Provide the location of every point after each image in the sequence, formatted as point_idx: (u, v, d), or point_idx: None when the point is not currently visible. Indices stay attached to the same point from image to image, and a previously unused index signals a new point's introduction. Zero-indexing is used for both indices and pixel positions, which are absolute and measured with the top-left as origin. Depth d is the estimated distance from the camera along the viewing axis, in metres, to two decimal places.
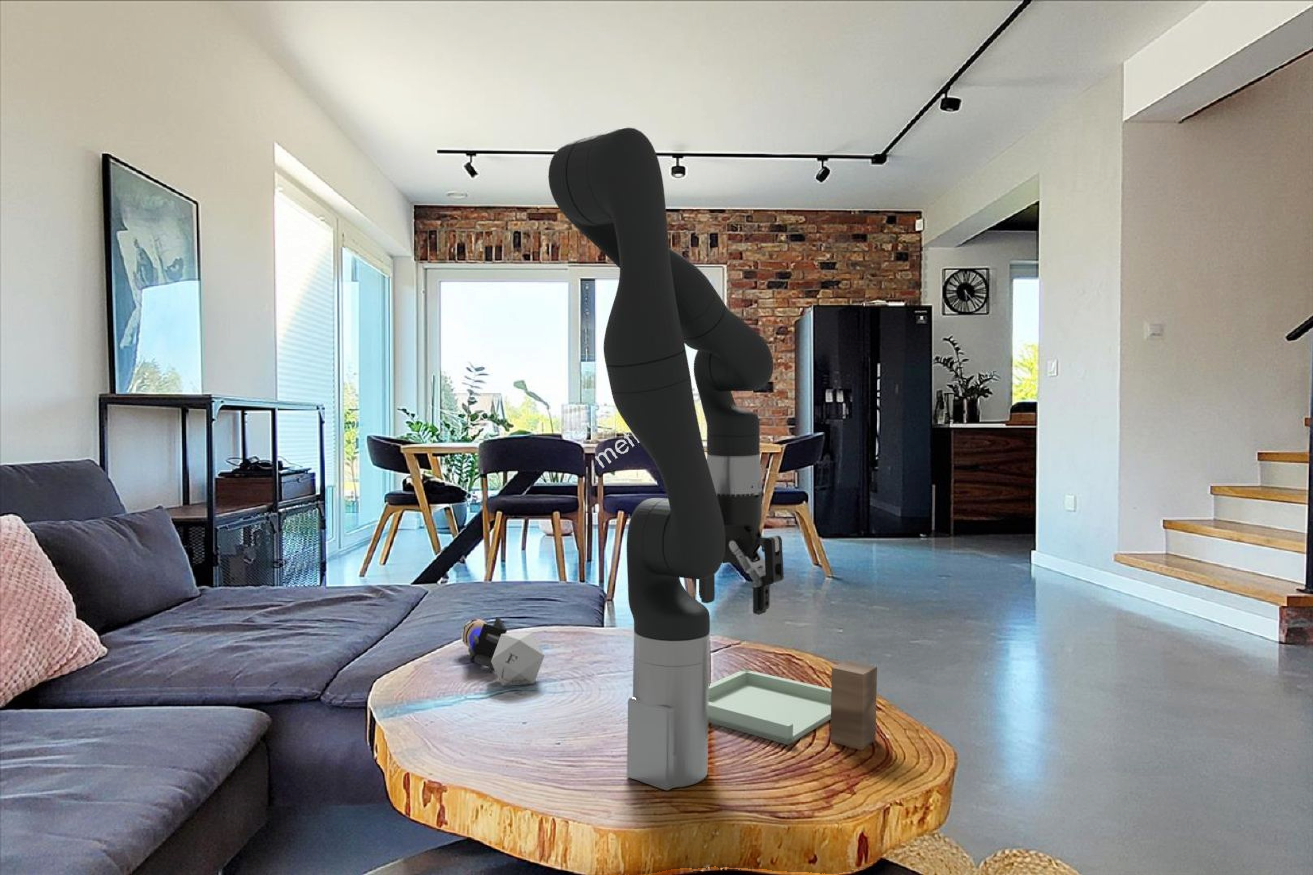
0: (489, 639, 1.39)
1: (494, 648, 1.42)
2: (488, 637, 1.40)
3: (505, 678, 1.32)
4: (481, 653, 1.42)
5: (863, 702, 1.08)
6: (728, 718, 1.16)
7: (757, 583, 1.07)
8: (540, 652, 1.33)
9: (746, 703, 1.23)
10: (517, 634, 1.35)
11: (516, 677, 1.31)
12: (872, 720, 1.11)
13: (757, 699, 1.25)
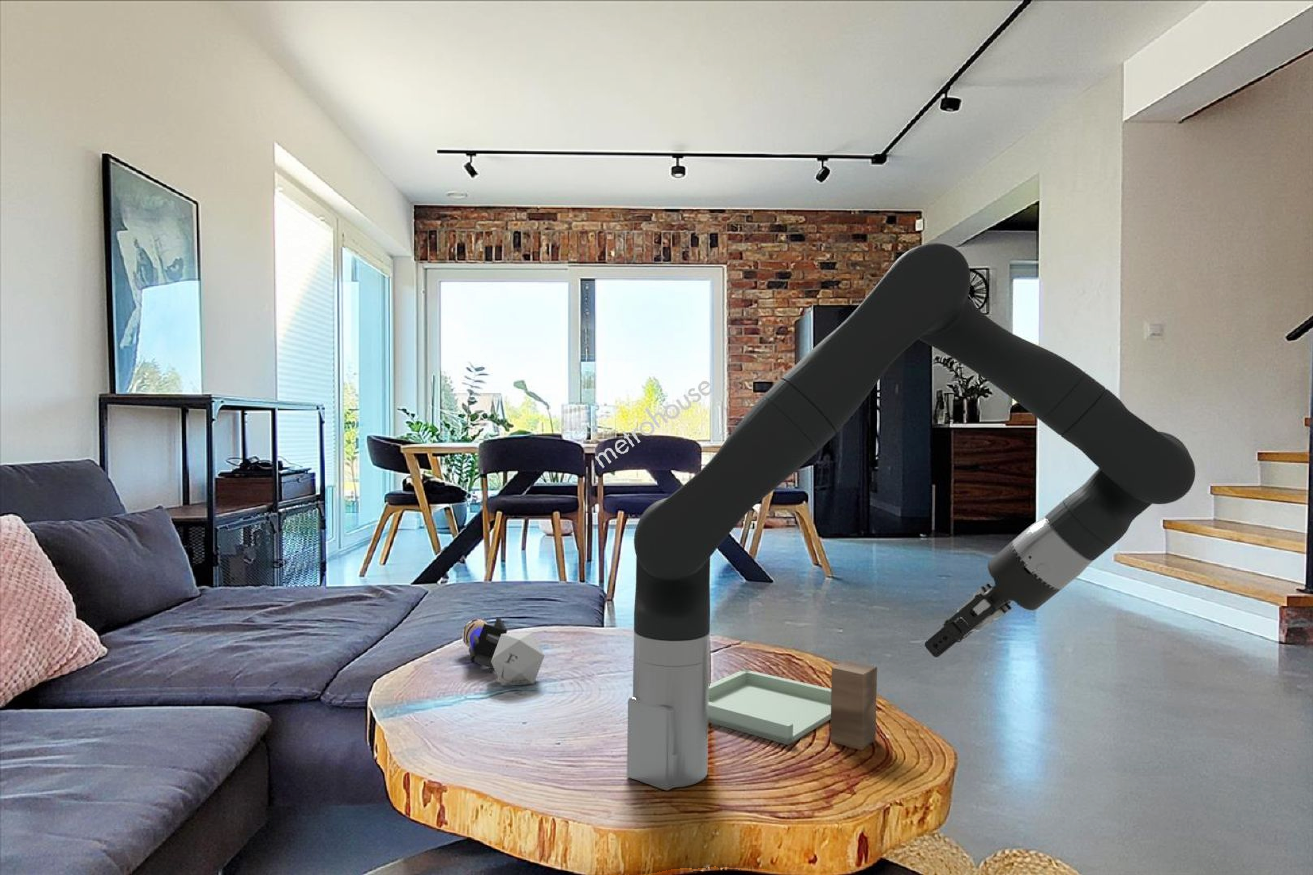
0: (489, 639, 1.39)
1: (494, 648, 1.42)
2: (488, 637, 1.39)
3: (505, 678, 1.32)
4: (481, 653, 1.42)
5: (863, 702, 1.08)
6: (728, 718, 1.16)
7: None
8: (540, 652, 1.33)
9: (746, 703, 1.23)
10: (517, 634, 1.35)
11: (516, 677, 1.31)
12: (872, 720, 1.11)
13: (757, 699, 1.25)
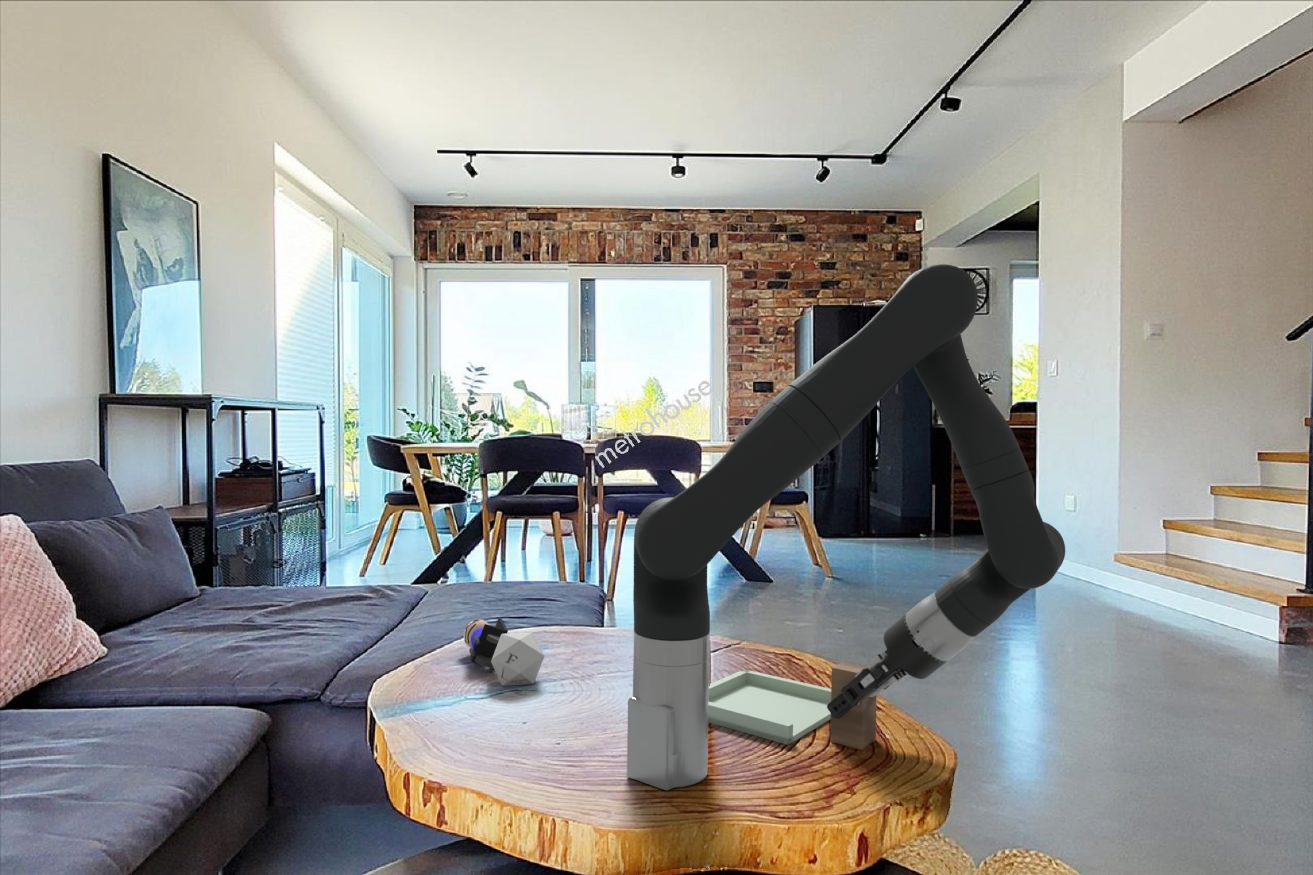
0: (490, 640, 1.39)
1: (495, 649, 1.42)
2: (489, 638, 1.39)
3: (505, 678, 1.32)
4: (482, 654, 1.41)
5: (863, 702, 1.08)
6: (728, 718, 1.16)
7: None
8: (540, 652, 1.33)
9: (746, 703, 1.23)
10: (517, 634, 1.35)
11: (516, 677, 1.31)
12: (872, 720, 1.11)
13: (757, 699, 1.25)
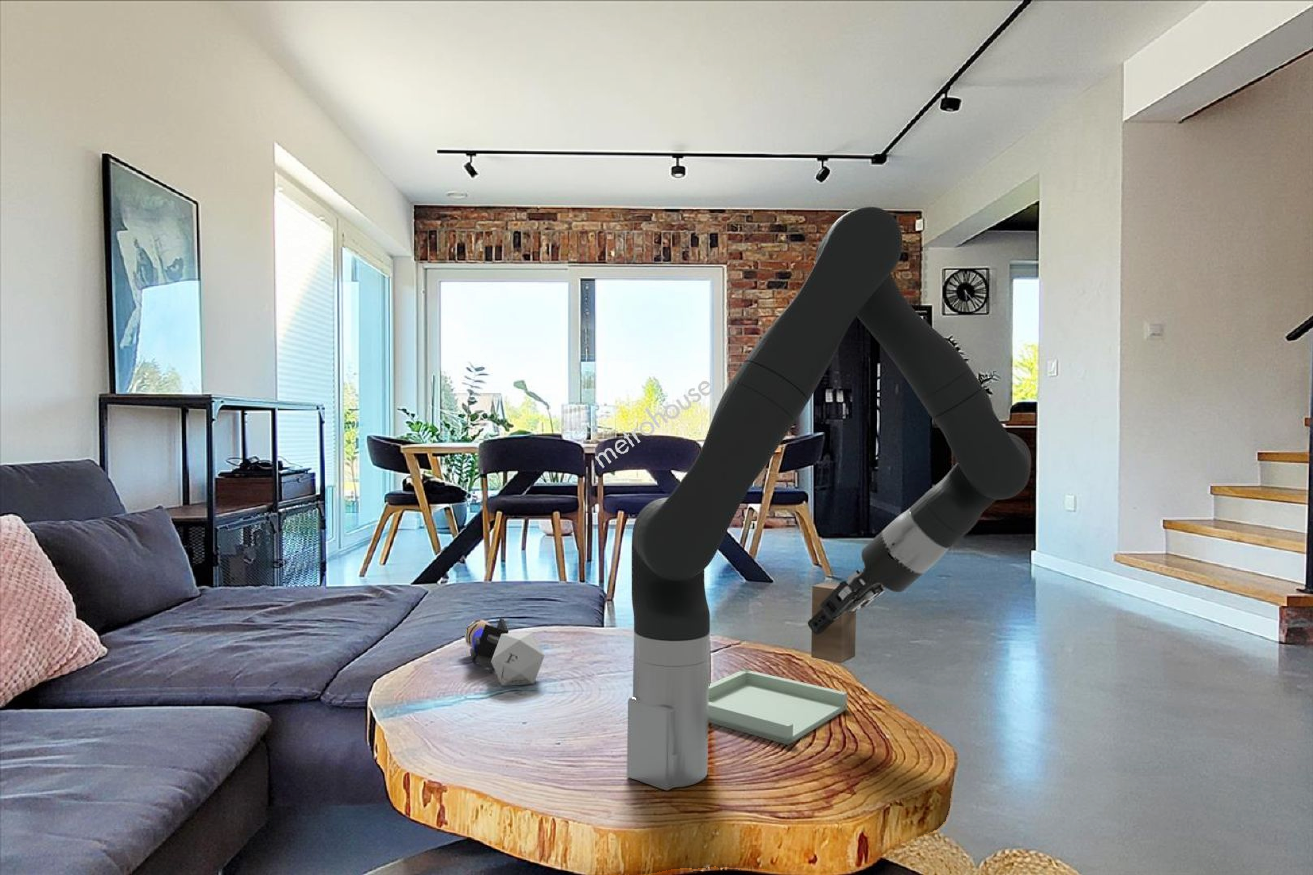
0: (490, 640, 1.39)
1: None
2: (489, 638, 1.39)
3: (505, 678, 1.32)
4: (483, 654, 1.41)
5: (842, 617, 1.12)
6: (728, 718, 1.16)
7: None
8: (540, 652, 1.33)
9: (746, 703, 1.23)
10: (517, 634, 1.35)
11: (516, 677, 1.31)
12: (851, 636, 1.15)
13: (757, 699, 1.25)
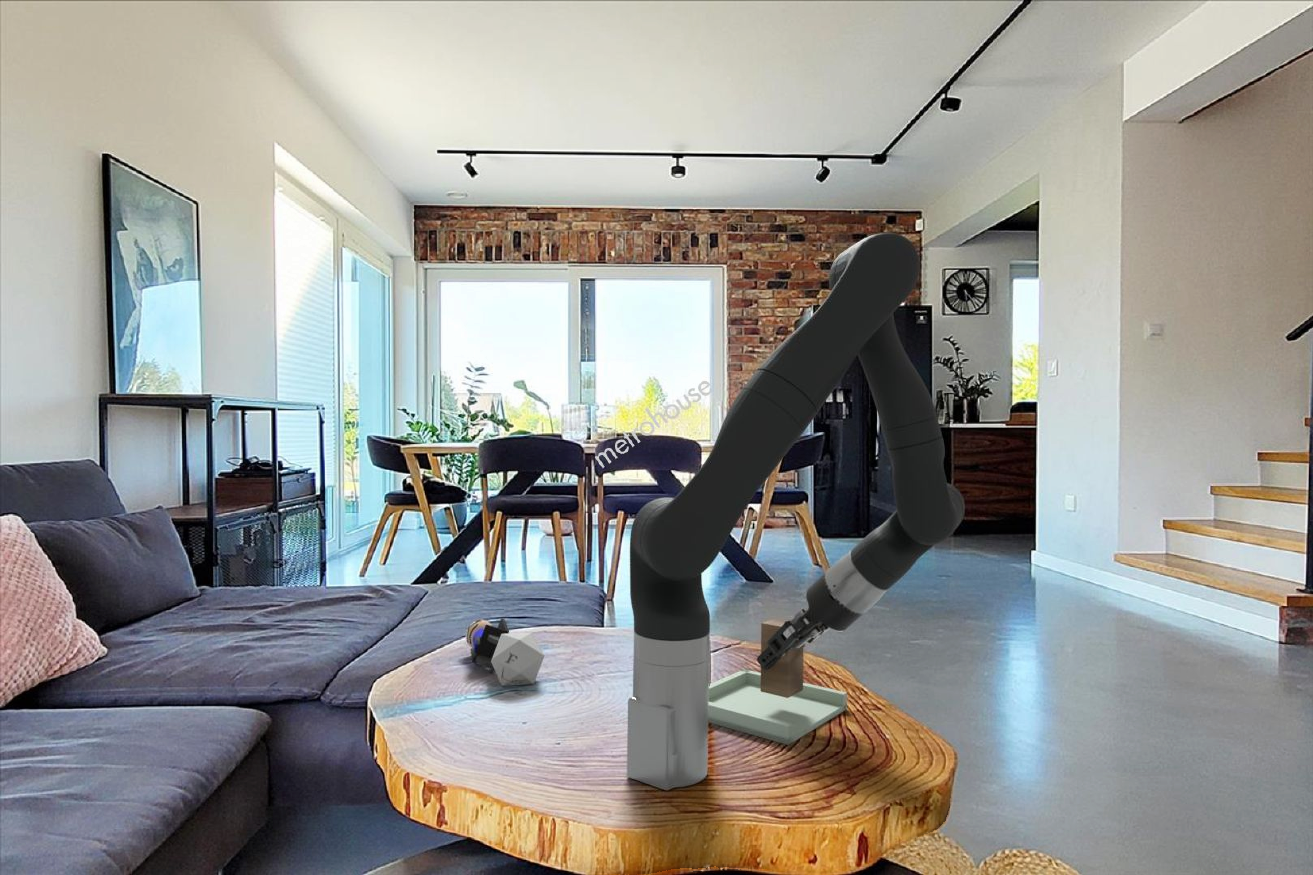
0: (490, 640, 1.39)
1: None
2: (489, 638, 1.39)
3: (505, 678, 1.32)
4: (483, 654, 1.41)
5: (789, 654, 1.17)
6: (728, 718, 1.16)
7: None
8: (540, 652, 1.33)
9: (746, 703, 1.23)
10: (517, 634, 1.35)
11: (516, 677, 1.31)
12: (798, 671, 1.20)
13: (757, 699, 1.25)
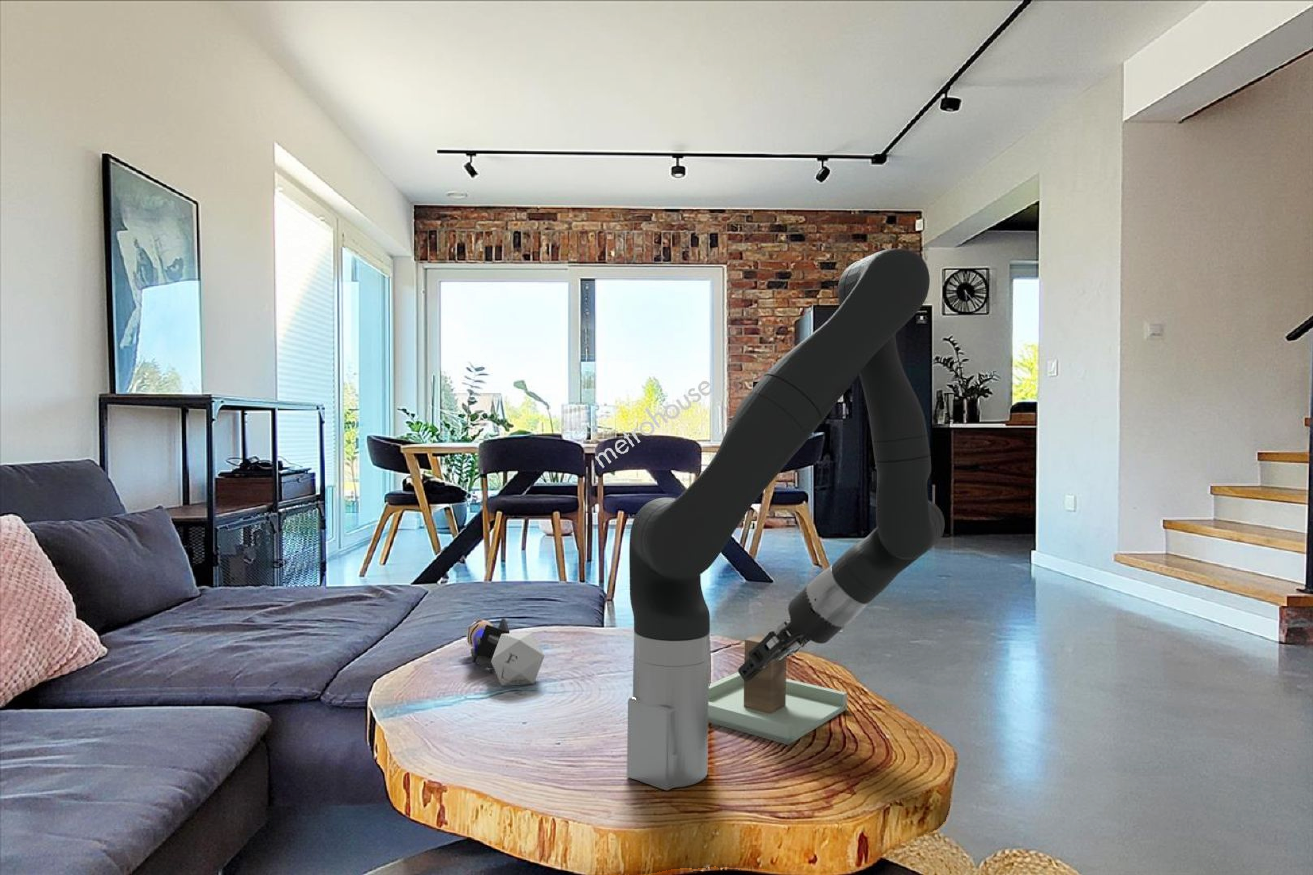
0: (490, 640, 1.38)
1: None
2: (490, 638, 1.39)
3: (505, 678, 1.32)
4: (483, 654, 1.41)
5: (771, 670, 1.19)
6: (728, 718, 1.16)
7: None
8: (540, 652, 1.33)
9: None
10: (517, 634, 1.35)
11: (516, 677, 1.31)
12: (781, 687, 1.22)
13: None
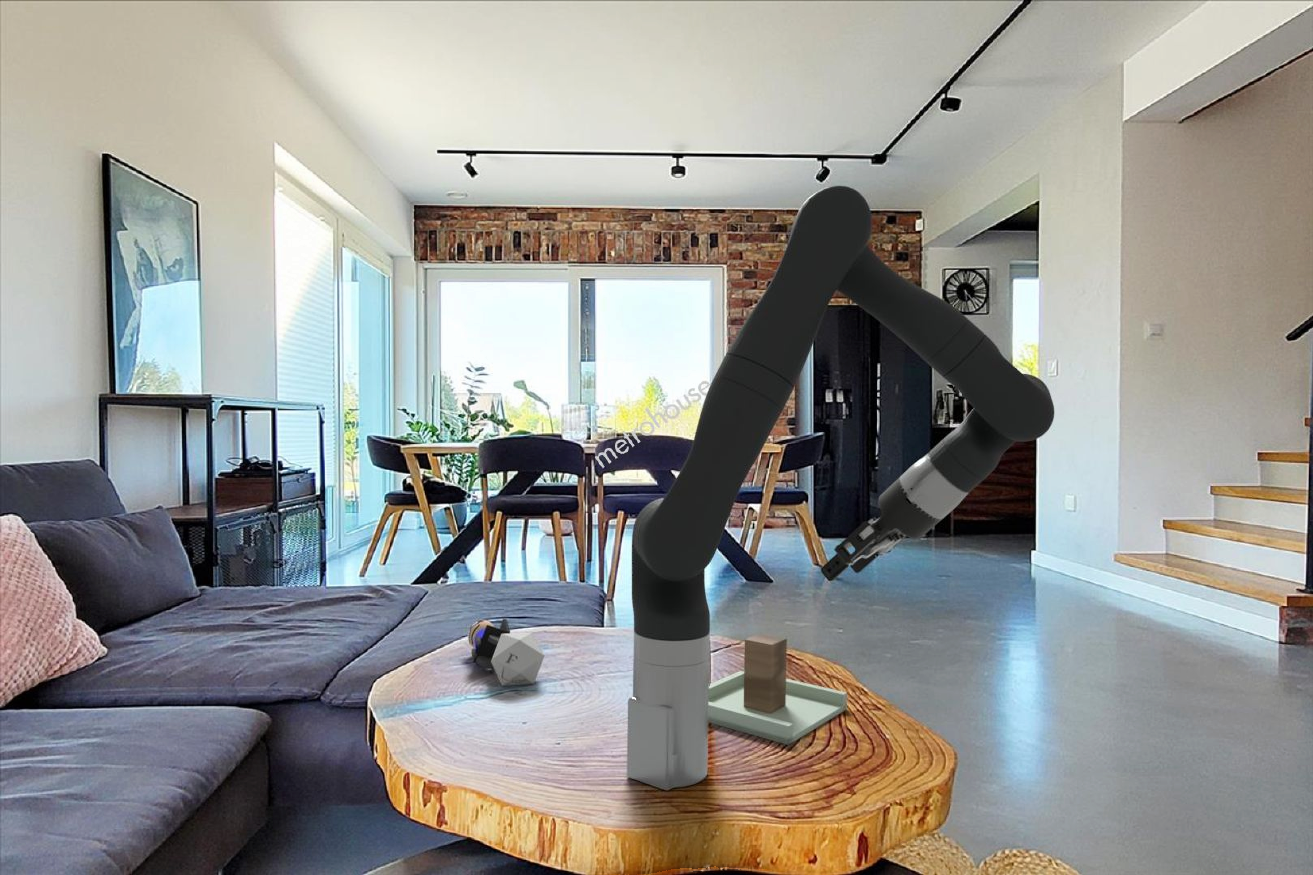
0: (491, 641, 1.38)
1: None
2: (490, 639, 1.38)
3: (505, 678, 1.32)
4: (484, 655, 1.41)
5: (771, 670, 1.19)
6: (728, 718, 1.16)
7: None
8: (540, 652, 1.33)
9: None
10: (517, 634, 1.35)
11: (516, 677, 1.31)
12: (781, 687, 1.22)
13: None
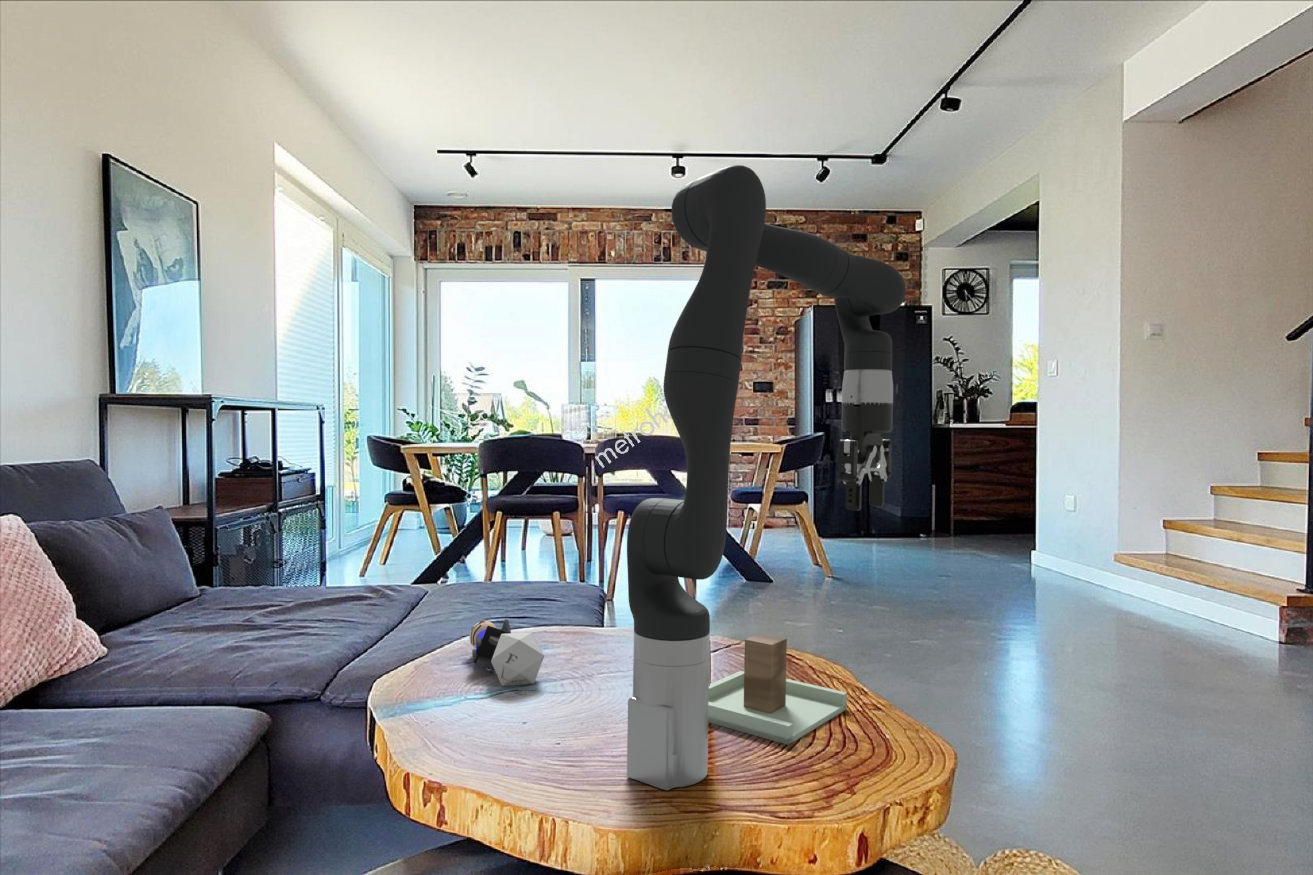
0: (491, 642, 1.38)
1: None
2: (490, 640, 1.38)
3: (505, 678, 1.32)
4: (485, 655, 1.40)
5: (771, 670, 1.19)
6: (728, 718, 1.16)
7: (844, 480, 1.22)
8: (540, 652, 1.33)
9: None
10: (517, 634, 1.35)
11: (516, 677, 1.31)
12: (781, 687, 1.22)
13: None
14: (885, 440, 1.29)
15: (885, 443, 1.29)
